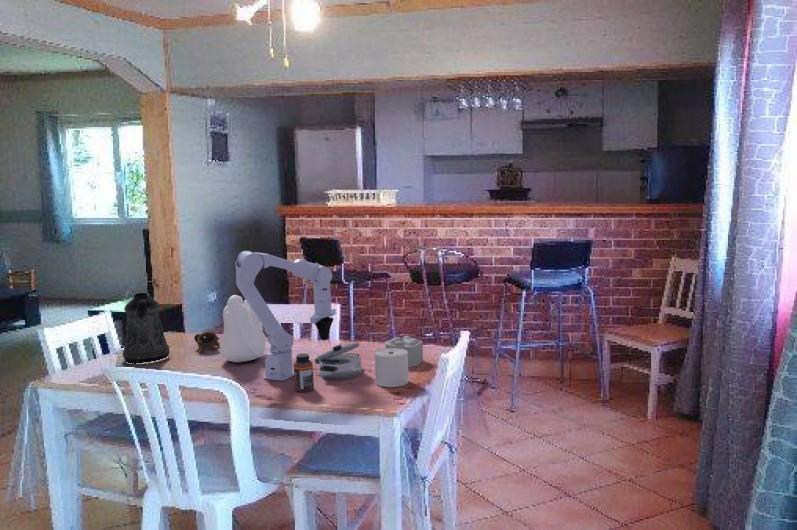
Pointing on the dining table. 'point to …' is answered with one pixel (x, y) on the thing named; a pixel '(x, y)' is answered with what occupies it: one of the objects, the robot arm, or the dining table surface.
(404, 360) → the toilet tissue
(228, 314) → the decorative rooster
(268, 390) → the dining table surface
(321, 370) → the cooker pot
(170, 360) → the dining table surface
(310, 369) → the supplement bottle
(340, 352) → the cooker lid
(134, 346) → the dark grey flared piece
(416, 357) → the grey lumpy container
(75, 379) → the dining table surface
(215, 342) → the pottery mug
